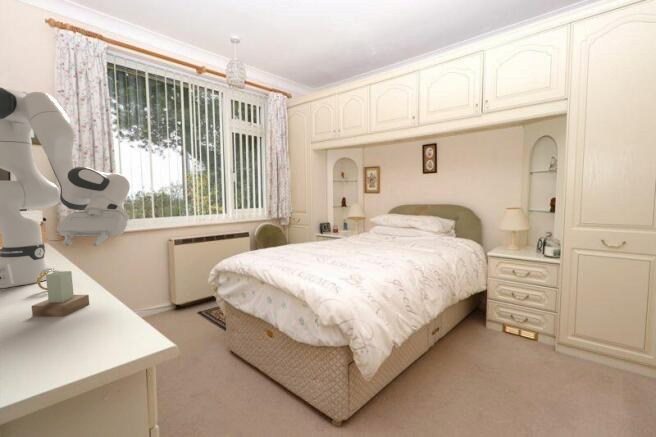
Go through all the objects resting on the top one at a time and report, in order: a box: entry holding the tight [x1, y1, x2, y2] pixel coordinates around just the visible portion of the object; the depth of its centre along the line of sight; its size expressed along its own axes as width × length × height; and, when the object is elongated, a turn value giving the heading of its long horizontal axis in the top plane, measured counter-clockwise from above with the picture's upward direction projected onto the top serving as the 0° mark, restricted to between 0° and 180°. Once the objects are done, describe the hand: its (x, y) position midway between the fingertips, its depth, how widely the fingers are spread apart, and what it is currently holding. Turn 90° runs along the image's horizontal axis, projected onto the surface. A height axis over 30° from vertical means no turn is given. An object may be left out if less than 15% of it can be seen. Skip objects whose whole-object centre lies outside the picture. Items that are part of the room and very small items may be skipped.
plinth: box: [31, 294, 90, 317], centre depth 92 cm, size 9×9×3 cm
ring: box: [36, 267, 59, 291], centre depth 111 cm, size 7×3×8 cm, turn 140°
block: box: [45, 270, 75, 302], centre depth 91 cm, size 4×4×8 cm
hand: (81, 245), depth 100 cm, fingers open, 8 cm apart
